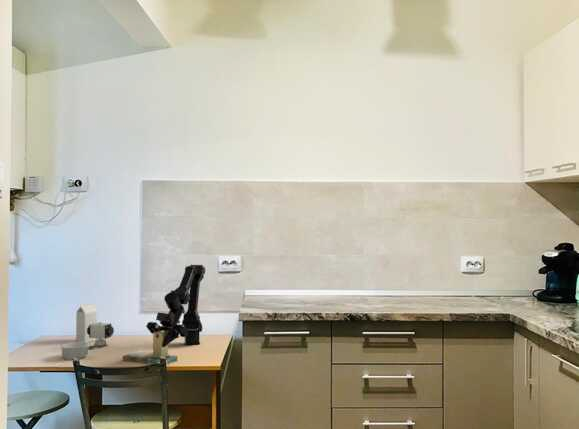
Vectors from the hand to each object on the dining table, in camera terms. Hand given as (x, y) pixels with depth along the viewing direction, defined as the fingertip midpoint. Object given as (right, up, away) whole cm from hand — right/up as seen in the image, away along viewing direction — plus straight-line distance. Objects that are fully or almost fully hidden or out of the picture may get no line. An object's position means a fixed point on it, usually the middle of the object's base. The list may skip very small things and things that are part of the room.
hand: (158, 346), depth 208 cm
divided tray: (-5, -7, +3) cm, 9 cm away
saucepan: (-35, -8, +9) cm, 37 cm away
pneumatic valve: (-35, -8, +28) cm, 46 cm away
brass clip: (+1, -5, +1) cm, 5 cm away
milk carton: (-47, -8, +39) cm, 62 cm away
